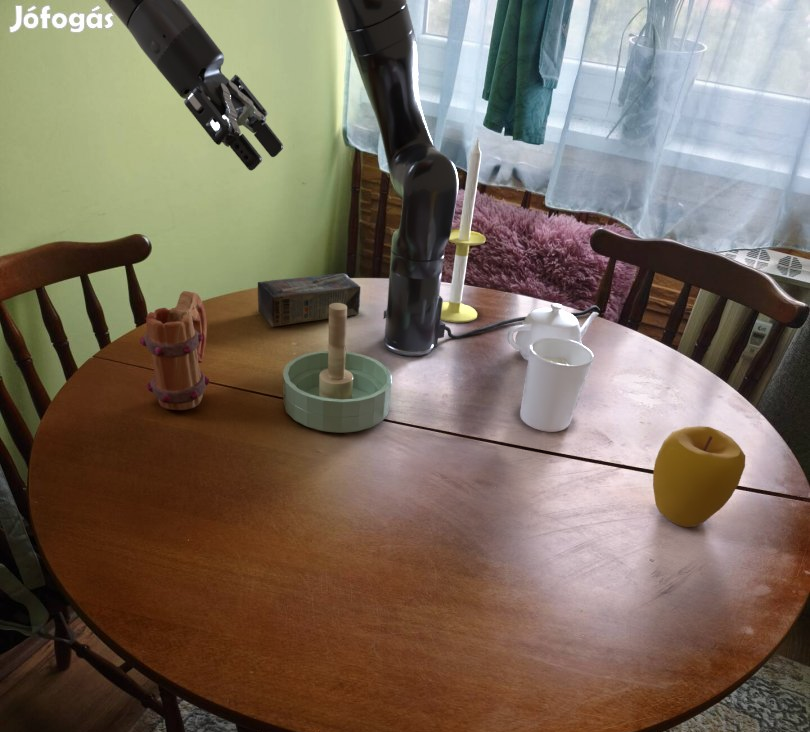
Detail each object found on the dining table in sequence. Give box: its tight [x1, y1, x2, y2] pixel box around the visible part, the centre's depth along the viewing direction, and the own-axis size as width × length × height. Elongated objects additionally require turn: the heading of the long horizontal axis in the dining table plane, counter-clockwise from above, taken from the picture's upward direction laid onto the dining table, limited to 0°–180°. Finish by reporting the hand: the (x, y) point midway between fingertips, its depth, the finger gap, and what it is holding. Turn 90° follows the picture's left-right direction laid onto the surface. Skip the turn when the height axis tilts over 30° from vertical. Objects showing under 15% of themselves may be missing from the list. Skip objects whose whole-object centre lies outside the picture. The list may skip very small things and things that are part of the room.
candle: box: [440, 138, 487, 324], centre depth 134 cm, size 10×10×32 cm
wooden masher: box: [319, 303, 353, 399], centre depth 105 cm, size 5×5×16 cm
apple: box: [652, 425, 746, 528], centre depth 93 cm, size 11×11×13 cm
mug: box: [139, 290, 210, 411], centre depth 105 cm, size 15×8×15 cm, turn 168°
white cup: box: [519, 337, 594, 433], centre depth 110 cm, size 10×10×12 cm
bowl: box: [282, 350, 393, 434], centre depth 109 cm, size 17×17×6 cm
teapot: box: [506, 302, 600, 362], centre depth 129 cm, size 20×12×10 cm, turn 115°
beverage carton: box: [257, 273, 362, 327], centre depth 135 cm, size 8×19×7 cm, turn 121°
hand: (268, 159), depth 93 cm, fingers open, 8 cm apart
